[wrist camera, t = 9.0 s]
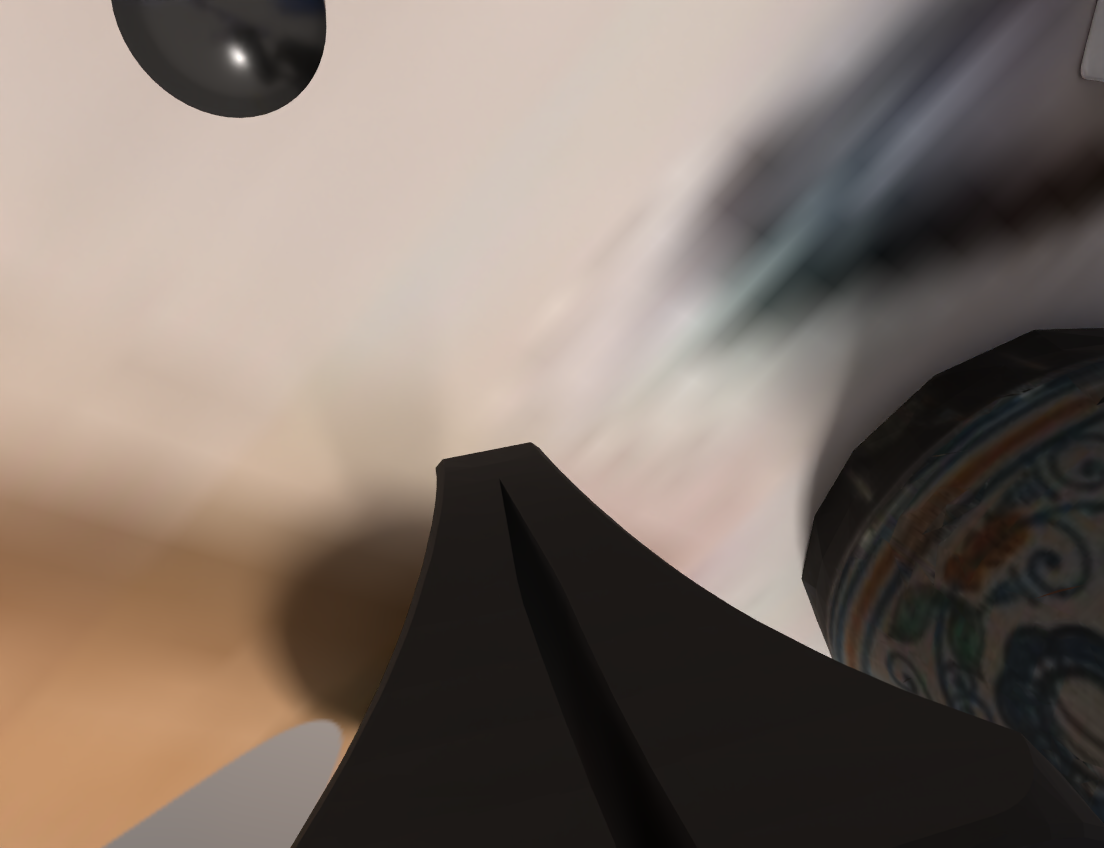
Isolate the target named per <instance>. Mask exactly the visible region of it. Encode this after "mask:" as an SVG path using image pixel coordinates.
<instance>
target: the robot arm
mask: <svg viewBox="0 0 1104 848" xmlns="http://www.w3.org/2000/svg"><path fill="white" fill-rule="evenodd" d="M436 475H437V490H436V501H435V509H434V515H433V521H432V527H431V531H430V536H429V540H428V544H427V549H426V553H425V558H424V562H423V566H422V569H421V573H420V576H419V580H418V583H417V586H416V589H415V592H414V595H413V598H412V602H411V605H410V608H409V611H408V614H407V617H406V620H405V623H404V626H403V628H402V631H401V634H400V637H399V639H398V642H397V644H396V647H395V649H394V652H393V654H392V657H391V659H390V662H389V664H388V666H387V669H386V671H385V673H384V676H383V678H382V680H381V683H380V685H379V687H378V689H377V691H376V694H375V696H374V698H373V700H372V702H371V704H370V706H369V708H368V710H367V712H366V714H365V716H364V718H363V720H362V722H361V724H360V727H359V729H358V731H357V733H356V735H355V737H354V739H353V741H352V742H351V744H350V746H349V748H348V750H347V752H346V754H345V756H344V758H343V759H342V761H341V763H340V765H339V767H338V769H337V770H336V772H335V774H334V775H333V777H332V779H331V780H330V782H329V784H328V785H327V787H326V789H325V791H324V792H323V794H322V796H321V797H320V799H319V801H318V802H317V804H316V806H315V807H314V809H313V811H312V813H311V814H310V816H309V818H308V819H307V821H306V823H305V824H304V826H303V828H302V829H301V831H300V833H299V835H298V836H297V838H296V840H295V841H294V843H293V845H292V846H291V848H1104V823H1103V822H1102V821H1101V820H1100V819H1099V818H1098V816H1097V815H1096V814H1095V813H1094V812H1093V811H1092V810H1091V808H1090V807H1089V806H1088V805H1087V804H1086V802H1085V801H1084V800H1083V799H1082V798H1081V796H1080V795H1079V794H1078V793H1077V792H1076V790H1075V789H1074V788H1073V787H1072V786H1071V785H1070V783H1069V782H1068V781H1067V780H1066V779H1065V778H1064V776H1063V775H1062V774H1061V773H1060V772H1059V771H1058V770H1057V769H1056V768H1055V767H1054V766H1053V765H1052V764H1051V763H1050V762H1049V761H1048V760H1047V759H1046V758H1045V757H1044V756H1043V755H1042V754H1041V753H1040V752H1039V751H1038V750H1037V749H1036V748H1035V747H1034V746H1033V745H1032V744H1031V743H1030V742H1029V741H1028V740H1027V739H1026V738H1025V737H1024V736H1023V735H1022V734H1021V733H1020V732H1017V731H1014V730H1012V729H1009V728H1006V727H1003V726H1001V725H998V724H995V723H992V722H990V721H987V720H984V719H981V718H979V717H976V716H973V715H970V714H968V713H965V712H962V711H959V710H957V709H954V708H951V707H948V706H946V705H943V704H940V703H937V702H935V701H932V700H929V699H926V698H923V697H921V696H918V695H915V694H913V693H910V692H908V691H905V690H903V689H900V688H898V687H895V686H893V685H891V684H888V683H886V682H884V681H882V680H879V679H877V678H875V677H872V676H870V675H868V674H865V673H863V672H861V671H858V670H856V669H854V668H851V667H849V666H847V665H844V664H842V663H840V662H838V661H836V660H834V659H832V658H830V657H827V656H825V655H823V654H821V653H819V652H817V651H815V650H813V649H811V648H809V647H807V646H805V645H803V644H801V643H799V642H797V641H795V640H794V639H792V638H790V637H788V636H786V635H784V634H782V633H780V632H778V631H776V630H774V629H772V628H770V627H768V626H766V625H764V624H763V623H761V622H759V621H757V620H755V619H753V618H751V617H750V616H748V615H746V614H745V613H743V612H741V611H739V610H738V609H736V608H734V607H733V606H731V605H729V604H728V603H726V602H725V601H723V600H721V599H720V598H718V597H717V596H715V595H714V594H712V593H710V592H709V591H707V590H706V589H704V588H703V587H701V586H699V585H698V584H696V583H695V582H694V581H692V580H691V579H689V578H688V577H686V576H685V575H683V574H682V573H681V572H679V571H678V570H676V569H675V568H674V567H672V566H671V565H669V564H668V563H667V562H665V561H664V560H663V559H661V558H660V557H659V556H657V555H656V554H655V553H653V552H652V551H651V550H649V549H648V548H647V547H646V546H644V545H643V544H642V543H640V542H639V541H638V540H637V539H635V538H634V537H633V536H632V535H631V534H629V533H628V532H627V531H626V530H624V529H623V528H622V527H621V526H620V525H619V524H617V523H616V522H615V521H614V520H613V519H612V518H611V517H609V516H608V515H607V514H606V513H605V512H604V511H602V510H601V509H600V508H599V507H598V506H597V505H596V504H594V503H593V502H592V501H591V500H590V499H589V498H588V497H587V496H586V495H585V494H584V493H583V492H581V491H580V490H579V489H578V488H577V487H576V486H575V485H574V484H573V483H572V482H571V481H570V480H569V479H568V478H567V477H566V476H565V475H564V474H563V473H562V472H561V471H560V470H559V469H558V468H557V467H556V466H555V465H554V464H553V463H552V462H551V460H550V459H549V458H548V457H547V456H546V455H545V454H544V453H543V452H542V451H541V449H540V448H539V447H537V446H536V445H534V444H533V443H531V442H529V443H524V444H519V445H514V446H509V447H504V448H499V449H493V450H488V451H483V452H478V453H473V454H468V455H463V456H458V457H452V458H447V459H443V460H442V461H441V462H440V463H439V464H438V466H437V467H436Z"/></svg>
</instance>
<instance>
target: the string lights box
mask: <svg viewBox="0 0 1104 848" xmlns="http://www.w3.org/2000/svg"><path fill="white" fill-rule="evenodd" d="M1081 76H1082V77H1083V78H1084V79H1087V80H1095V81H1101V82H1104V0H1098V1H1097V5H1096V9H1095V13H1094V17H1093V20H1092V24H1091V28H1090V32H1089V36H1088V39H1087V43H1086V47H1085V51H1084V55H1083V60H1082V64H1081Z"/></svg>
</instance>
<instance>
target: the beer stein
mask: <svg viewBox="0 0 1104 848" xmlns="http://www.w3.org/2000/svg"><path fill="white" fill-rule="evenodd" d="M802 581H803V584H804V587H805V589H806V592H807V595H808V597H809V600H810V603H811V605H812V608H813V611H814V614H815V616H816V619H817V622H818V624H819V627H820V629H821V631H822V634H823V636H824V639H825V641H826V644H827V646H828V649H829V651H830V654H831V656H832V659H834V660H836V661H838V662H840V663H842V664H844V665H847V666H849V667H851V668H854V669H856V670H858V671H861V672H863V673H865V674H868V675H870V676H872V677H875V678H877V679H879V680H882V681H884V682H886V683H888V684H891V685H893V686H895V687H898V688H900V689H903V690H905V691H908V692H910V693H913V694H915V695H918V696H921V697H923V698H926V699H929V700H932V701H935V702H937V703H940V704H943V705H946V706H948V707H951V708H954V709H957V710H959V711H962V712H965V713H968V714H970V715H973V716H976V717H979V718H981V719H984V720H987V721H990V722H992V723H995V724H998V725H1001V726H1003V727H1006V728H1009V729H1012V730H1014V731H1017V732H1020V733H1021V734H1022V735H1023V736H1024V737H1025V738H1026V739H1027V740H1028V741H1029V742H1030V743H1031V744H1032V745H1033V746H1034V747H1035V748H1036V749H1037V750H1038V751H1039V752H1040V753H1041V754H1042V755H1043V756H1044V757H1045V758H1046V759H1047V760H1048V761H1049V762H1050V763H1051V764H1052V765H1053V766H1054V767H1055V768H1056V769H1057V770H1058V771H1059V772H1060V773H1061V774H1062V775H1063V776H1064V778H1065V779H1066V780H1067V781H1068V782H1069V783H1070V785H1071V786H1072V787H1073V788H1074V789H1075V790H1076V792H1077V793H1078V794H1079V795H1080V796H1081V798H1082V799H1083V800H1084V801H1085V802H1086V804H1087V805H1088V806H1089V807H1090V808H1091V810H1092V811H1093V812H1094V813H1095V814H1096V815H1097V816H1098V818H1099V819H1100V820H1101V821H1102V822H1103V823H1104V328H1091V329H1054V330H1033V331H1031V332H1029V333H1027V334H1025V335H1022V336H1020V337H1018V338H1016V339H1014V340H1012V341H1009V342H1007V343H1005V344H1003V345H1001V346H998V347H996V348H994V349H992V350H990V351H988V352H985V353H983V354H981V355H979V356H977V357H974V358H972V359H970V360H968V361H966V362H964V363H961V364H959V365H957V366H955V367H953V368H950V369H948V370H946V371H944V372H942V373H939V374H937V375H935V376H934V377H933V378H932V379H930V380H929V381H928V382H927V383H926V384H925V385H924V386H923V387H922V388H921V389H920V390H919V391H918V392H916V393H915V394H914V395H913V396H912V397H911V398H910V399H909V400H908V401H907V402H906V403H905V404H904V405H902V406H901V407H900V408H899V409H898V410H897V411H896V412H895V413H894V414H893V415H892V416H891V417H889V418H888V419H887V420H886V421H885V422H884V423H883V424H882V425H881V426H880V427H879V428H878V429H877V430H875V431H874V432H873V433H872V434H871V435H870V436H869V437H868V438H867V439H866V440H865V441H864V442H863V443H861V444H860V445H859V446H858V447H857V448H856V449H855V450H854V451H853V453H852V454H851V456H850V458H849V459H848V461H847V463H846V464H845V466H844V468H843V470H842V471H841V473H840V475H839V476H838V478H837V480H836V481H835V483H834V485H833V486H832V488H831V490H830V491H829V493H828V495H827V497H826V498H825V500H824V502H823V503H822V505H821V507H820V508H819V510H818V512H817V513H816V515H815V517H814V522H813V527H812V532H811V536H810V541H809V546H808V551H807V556H806V561H805V565H804V570H803V575H802Z"/></svg>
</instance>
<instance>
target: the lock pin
mask: <svg viewBox="0 0 1104 848" xmlns="http://www.w3.org/2000/svg"><path fill="white" fill-rule="evenodd" d="M111 1H112V7H113V12H114V15H115V18H116V21H117V25H118V27H119V30H120V32H121V34H122V37H123V39H124V41H125V43H126V45H127V46H128V48H129V50H130V52H131V53H132V55H133V56H134V58H135V59H136V60H137V62H138V63H139V65H140V66H141V67H142V68H143V70H144V71H145V72H146V73H147V74H148V75H149V76H150V77H151V78H152V79H153V80H154V81H155V82H156V83H157V84H158V85H159V86H160V87H162V88H163V89H164V90H165V91H167V92H168V93H169V94H171V95H172V96H174V97H175V98H177V99H178V100H180V101H182V102H184V103H185V104H187V105H189V106H191V107H194V108H196V109H198V110H201V111H204V112H207V113H210V114H214V115H219V116H224V117H235V118H244V117H255V116H259V115H264V114H267V113H270V112H272V111H275V110H278V109H279V108H281V107H283V106H285V105H286V104H288V103H289V102H291V101H292V100H293V99H295V98H296V97H297V96H298V95H299V94H300V93H301V92H302V91H303V90H304V89H305V88H306V87H307V85H308V84H309V82H310V81H311V79H312V78H313V76H314V74H315V72H316V70H317V68H318V66H319V64H320V61H321V58H322V55H323V50H324V45H325V39H326V8H325V0H111Z"/></svg>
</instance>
